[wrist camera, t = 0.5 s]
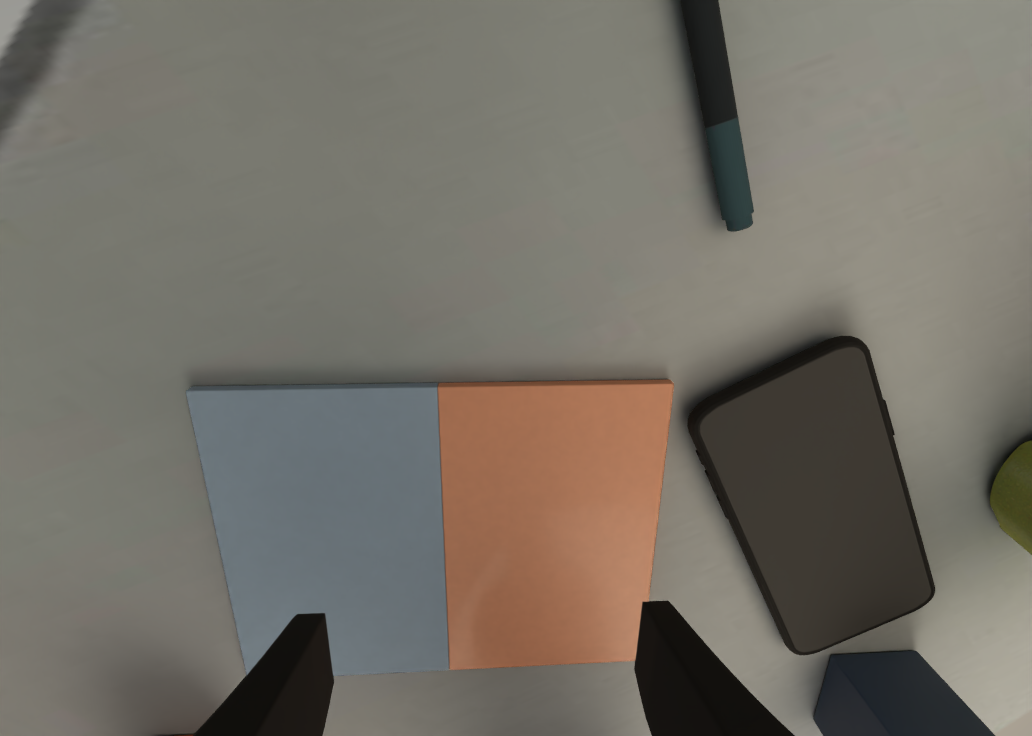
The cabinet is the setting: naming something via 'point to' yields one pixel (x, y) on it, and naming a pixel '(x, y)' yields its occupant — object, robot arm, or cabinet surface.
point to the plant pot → (1015, 496)
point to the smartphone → (816, 494)
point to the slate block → (891, 699)
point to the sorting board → (438, 517)
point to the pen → (719, 110)
